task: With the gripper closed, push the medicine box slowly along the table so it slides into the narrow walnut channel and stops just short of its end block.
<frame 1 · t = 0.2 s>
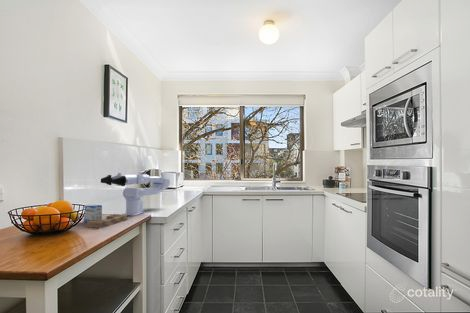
hand: (106, 181, 143), 21 cm above the table, tool horizontal, fingers open, 7 cm apart
medicine box: (92, 222, 142), on the table
walnut channel: (107, 223, 139), on the table
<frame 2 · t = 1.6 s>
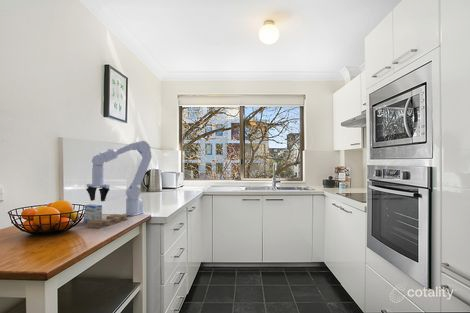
hand: (97, 200, 152), 9 cm above the table, tool pointing down, fingers open, 7 cm apart
nothing on the table moved.
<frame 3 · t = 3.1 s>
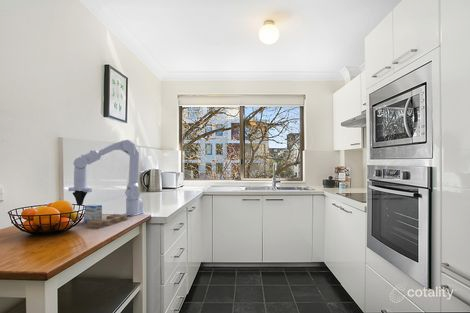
hand: (79, 205, 145), 8 cm above the table, tool pointing down, fingers closed
nothing on the table moved.
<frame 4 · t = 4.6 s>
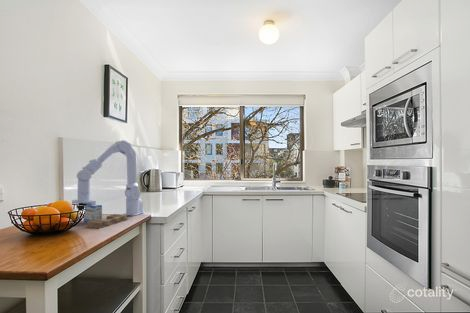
hand: (83, 217, 144), 1 cm above the table, tool pointing down, fingers closed
medicine box: (92, 221, 142), on the table, touching gripper
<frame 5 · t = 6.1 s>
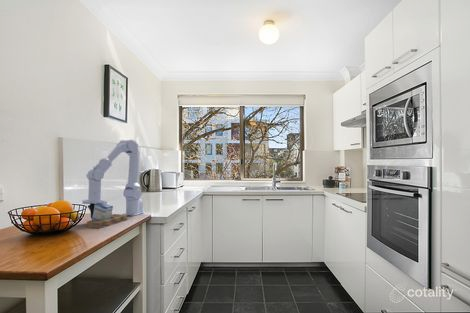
hand: (93, 218, 141), 2 cm above the table, tool pointing down, fingers closed, pressing on medicine box
medicine box: (101, 221, 140), on the table, touching gripper
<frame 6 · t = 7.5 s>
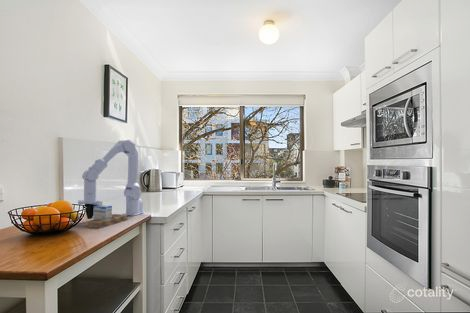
hand: (89, 218, 143), 1 cm above the table, tool pointing down, fingers closed
medicine box: (102, 223, 140), on the table
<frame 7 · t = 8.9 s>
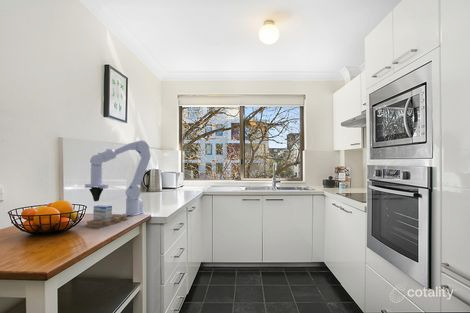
hand: (96, 201, 151), 9 cm above the table, tool pointing down, fingers closed
nothing on the table moved.
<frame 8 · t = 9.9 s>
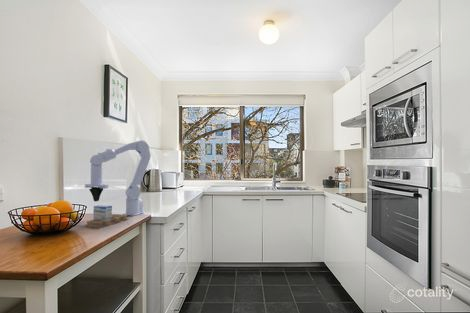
hand: (96, 201, 151), 9 cm above the table, tool pointing down, fingers closed
nothing on the table moved.
at the end: medicine box 1.5 cm from the target spot, on the table; medicine box tilted 0°; medicine box moved 6.5 cm from its start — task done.
